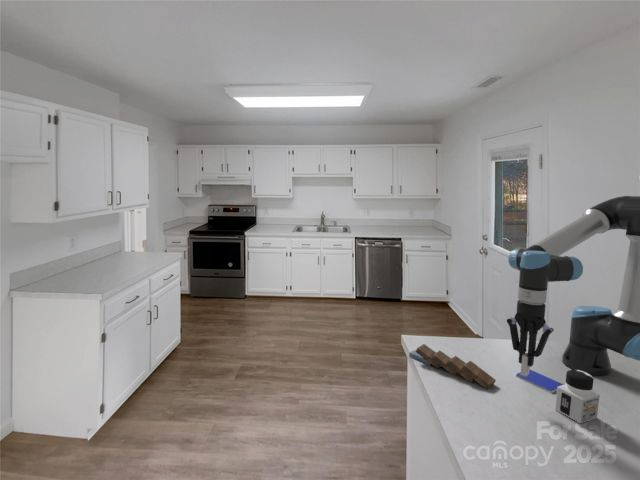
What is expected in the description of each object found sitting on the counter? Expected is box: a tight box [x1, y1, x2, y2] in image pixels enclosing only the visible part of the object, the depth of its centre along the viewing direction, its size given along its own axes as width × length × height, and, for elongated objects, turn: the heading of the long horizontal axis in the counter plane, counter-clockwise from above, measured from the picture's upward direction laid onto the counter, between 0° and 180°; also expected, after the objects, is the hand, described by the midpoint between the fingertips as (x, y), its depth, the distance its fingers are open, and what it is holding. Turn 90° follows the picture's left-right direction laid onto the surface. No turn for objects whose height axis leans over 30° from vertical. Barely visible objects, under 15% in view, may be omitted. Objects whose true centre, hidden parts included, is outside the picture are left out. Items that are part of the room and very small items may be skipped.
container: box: [554, 369, 601, 424], centre depth 109 cm, size 8×8×13 cm
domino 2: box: [432, 350, 459, 377], centre depth 136 cm, size 2×5×10 cm
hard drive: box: [515, 369, 565, 394], centre depth 129 cm, size 2×8×12 cm
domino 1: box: [415, 343, 442, 369], centre depth 141 cm, size 2×5×10 cm
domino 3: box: [447, 355, 476, 383], centre depth 132 cm, size 2×5×10 cm
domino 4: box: [462, 360, 497, 390], centre depth 128 cm, size 2×5×10 cm
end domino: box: [408, 349, 433, 366], centre depth 145 cm, size 2×5×10 cm
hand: (524, 374), depth 116 cm, fingers closed
